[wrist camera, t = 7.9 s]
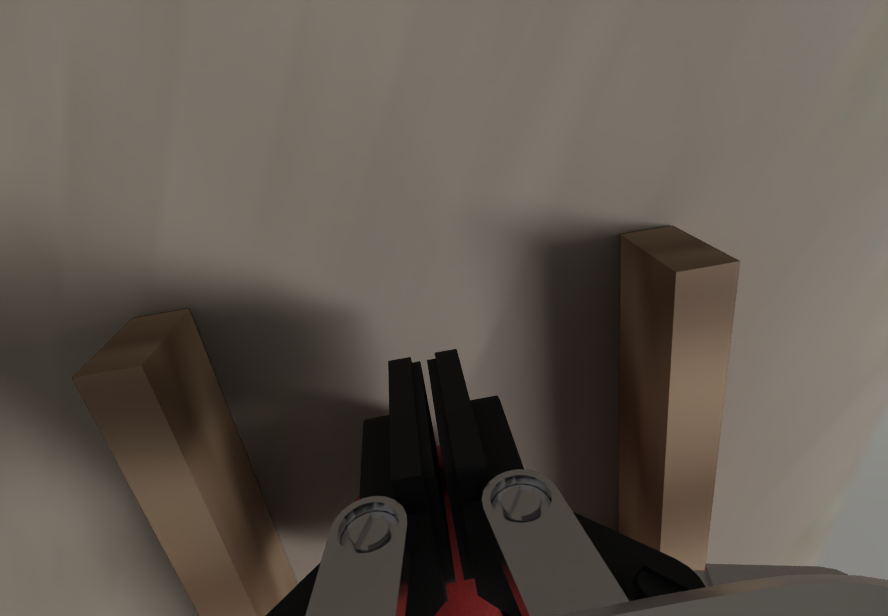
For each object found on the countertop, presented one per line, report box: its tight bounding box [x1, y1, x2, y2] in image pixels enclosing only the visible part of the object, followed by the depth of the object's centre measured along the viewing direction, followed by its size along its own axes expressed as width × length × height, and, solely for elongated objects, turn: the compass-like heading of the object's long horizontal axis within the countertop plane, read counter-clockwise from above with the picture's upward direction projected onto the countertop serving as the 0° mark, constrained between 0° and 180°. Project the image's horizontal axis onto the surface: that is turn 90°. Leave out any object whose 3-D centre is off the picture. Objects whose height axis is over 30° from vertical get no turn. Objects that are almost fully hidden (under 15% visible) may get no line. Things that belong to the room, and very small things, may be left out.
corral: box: [72, 226, 740, 616], centre depth 16 cm, size 14×15×3 cm
